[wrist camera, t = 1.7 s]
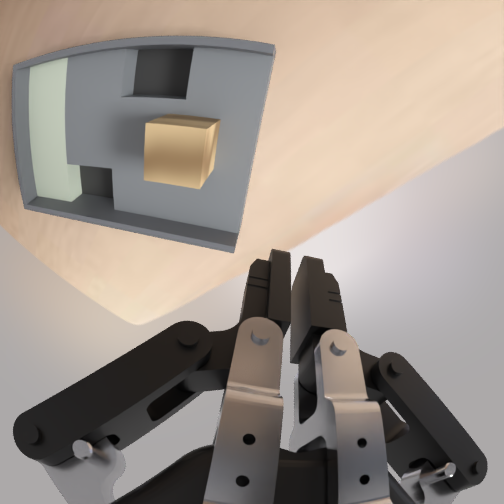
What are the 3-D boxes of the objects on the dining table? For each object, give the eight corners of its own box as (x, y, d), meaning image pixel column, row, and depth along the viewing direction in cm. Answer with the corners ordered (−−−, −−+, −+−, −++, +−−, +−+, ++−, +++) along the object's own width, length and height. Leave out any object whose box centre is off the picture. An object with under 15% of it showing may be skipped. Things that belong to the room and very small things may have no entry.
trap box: (42, 60, 20) (13, 65, 15) (275, 52, 20) (274, 44, 16) (47, 191, 32) (24, 208, 27) (240, 225, 32) (233, 253, 28)
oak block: (169, 113, 22) (145, 122, 18) (220, 119, 22) (206, 129, 18) (165, 161, 25) (143, 180, 21) (213, 169, 25) (199, 189, 21)
